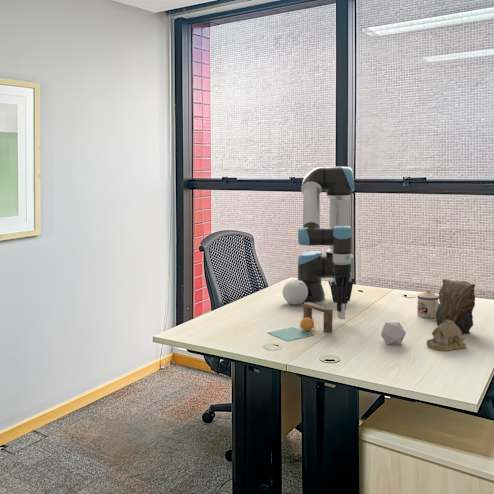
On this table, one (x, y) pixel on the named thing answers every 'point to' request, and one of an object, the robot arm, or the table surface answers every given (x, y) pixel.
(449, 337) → the ceramic model
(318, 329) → the table surface
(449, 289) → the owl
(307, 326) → the ball
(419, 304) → the teacup with lid
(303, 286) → the decorative ball
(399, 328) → the die
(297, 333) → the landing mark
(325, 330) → the bridge
